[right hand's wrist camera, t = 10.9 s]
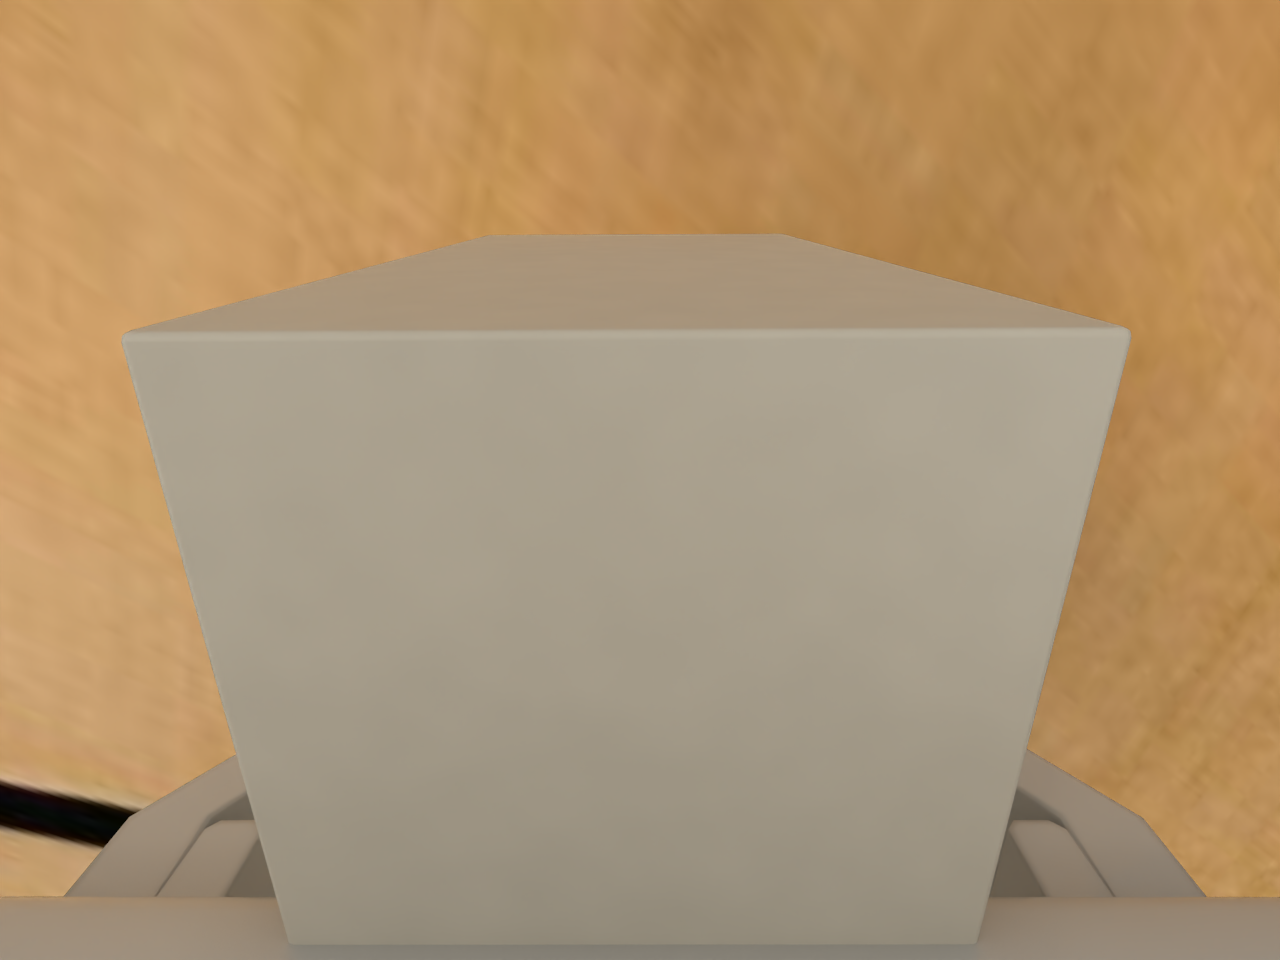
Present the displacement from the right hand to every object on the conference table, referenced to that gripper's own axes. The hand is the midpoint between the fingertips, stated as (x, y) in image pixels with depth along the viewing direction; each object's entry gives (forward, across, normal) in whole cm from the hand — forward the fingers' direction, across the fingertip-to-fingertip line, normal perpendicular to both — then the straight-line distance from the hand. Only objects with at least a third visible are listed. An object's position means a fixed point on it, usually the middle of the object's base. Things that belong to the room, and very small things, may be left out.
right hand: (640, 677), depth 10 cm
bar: (+4, 0, -23) cm, 24 cm away
